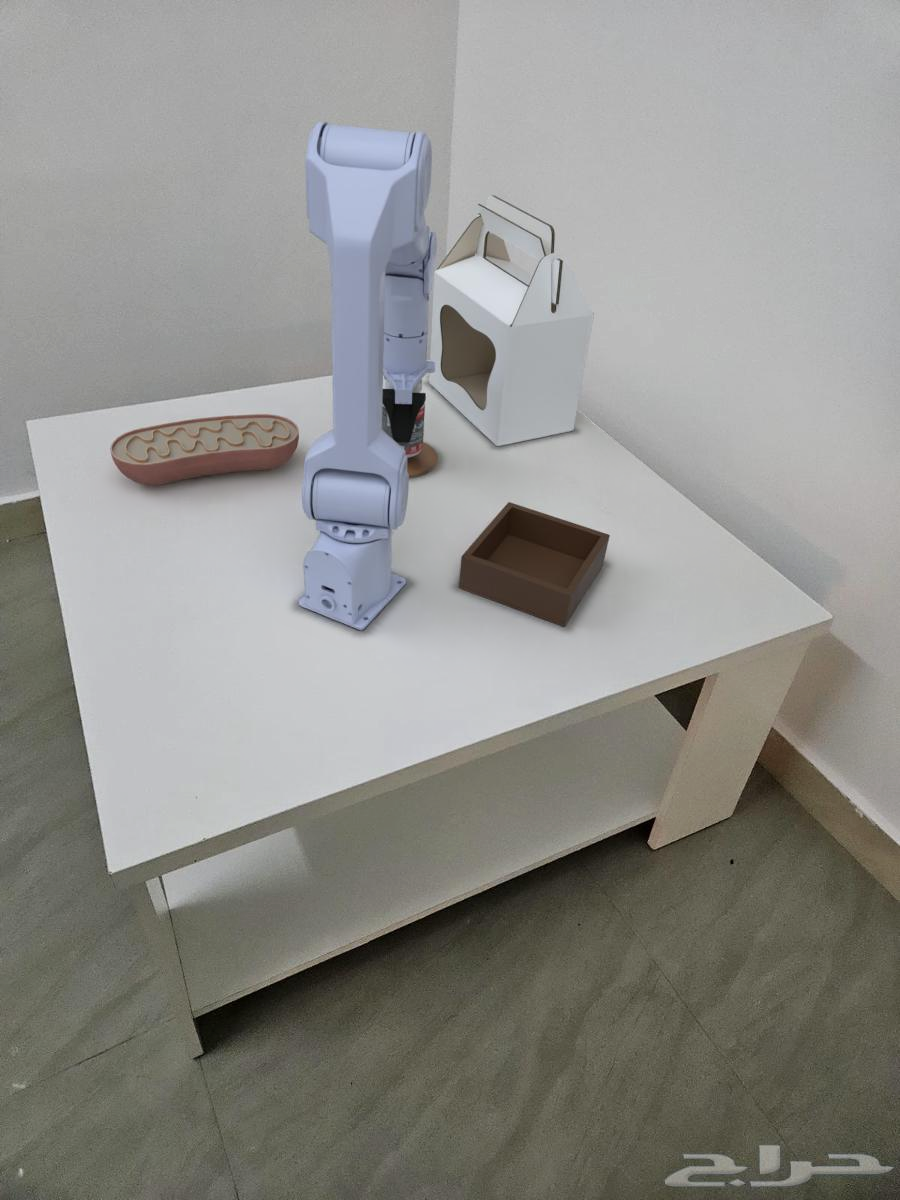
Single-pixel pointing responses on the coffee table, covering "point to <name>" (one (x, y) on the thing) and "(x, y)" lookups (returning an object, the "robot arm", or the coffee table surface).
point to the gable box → (509, 329)
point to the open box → (533, 563)
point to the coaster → (422, 462)
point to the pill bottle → (418, 431)
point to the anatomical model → (204, 447)
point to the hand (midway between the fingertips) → (401, 429)
